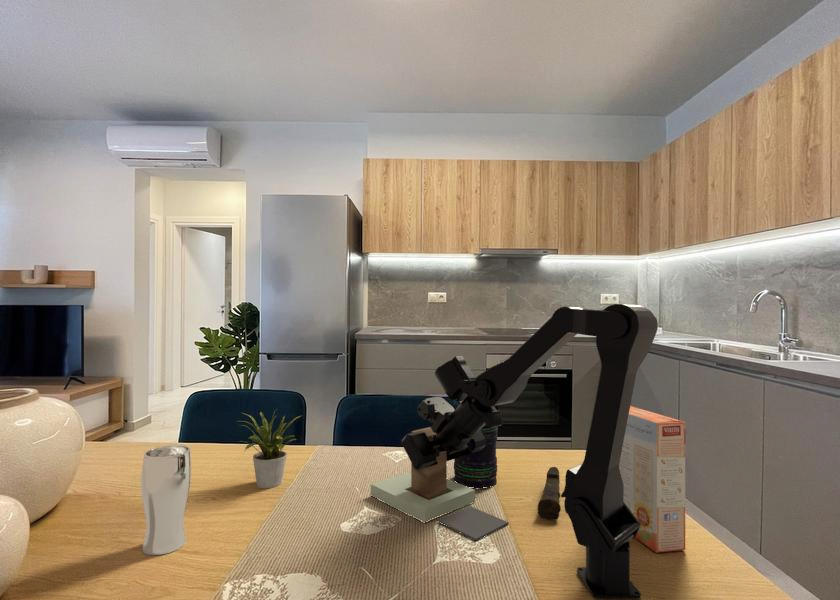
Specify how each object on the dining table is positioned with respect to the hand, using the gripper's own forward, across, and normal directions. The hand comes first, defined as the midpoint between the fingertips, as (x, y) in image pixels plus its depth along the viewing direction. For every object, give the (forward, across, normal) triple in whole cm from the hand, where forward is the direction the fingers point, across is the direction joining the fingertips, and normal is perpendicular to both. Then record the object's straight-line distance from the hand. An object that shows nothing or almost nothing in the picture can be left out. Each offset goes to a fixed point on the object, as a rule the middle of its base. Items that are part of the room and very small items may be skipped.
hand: (424, 465), depth 90 cm
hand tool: (-6, -20, +17) cm, 27 cm away
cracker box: (-20, -20, +30) cm, 41 cm away
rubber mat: (-4, 0, +14) cm, 15 cm away
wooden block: (+4, 0, +6) cm, 7 cm away
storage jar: (+5, -16, +5) cm, 18 cm away
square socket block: (+5, 0, +4) cm, 7 cm away
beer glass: (+16, +43, -5) cm, 46 cm away
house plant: (+26, +21, -16) cm, 37 cm away
